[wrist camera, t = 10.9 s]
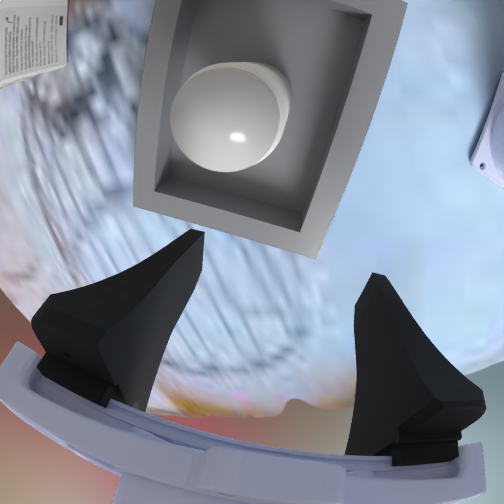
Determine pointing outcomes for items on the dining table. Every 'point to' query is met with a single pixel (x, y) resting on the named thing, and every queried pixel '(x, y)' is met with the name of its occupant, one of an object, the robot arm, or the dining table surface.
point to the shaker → (231, 114)
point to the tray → (298, 122)
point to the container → (31, 38)
